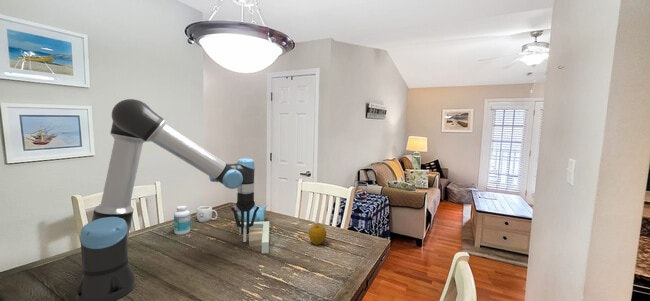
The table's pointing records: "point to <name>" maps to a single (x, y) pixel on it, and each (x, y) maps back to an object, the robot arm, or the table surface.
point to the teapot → (259, 214)
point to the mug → (205, 213)
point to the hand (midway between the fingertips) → (245, 240)
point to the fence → (264, 236)
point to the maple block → (255, 237)
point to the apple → (317, 234)
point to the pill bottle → (181, 220)
